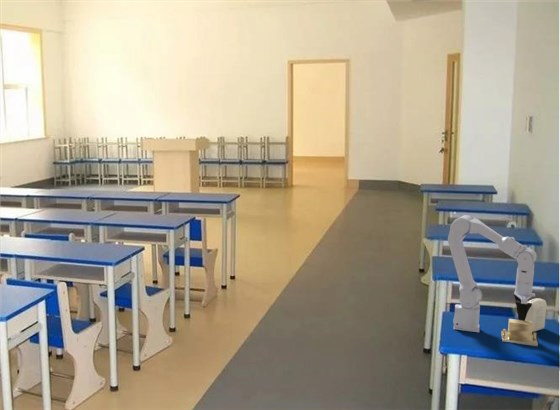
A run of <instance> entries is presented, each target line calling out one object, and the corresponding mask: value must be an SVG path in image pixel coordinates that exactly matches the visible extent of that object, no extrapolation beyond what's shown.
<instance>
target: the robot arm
mask: <svg viewBox="0 0 560 410" xmlns="http://www.w3.org/2000/svg"><path fill="white" fill-rule="evenodd" d="M449 226H450V228H449V232H448V236H447V243H448V246H449V250H450V253H451V258H452V260H453V263H454V268H455V272H456V275H457V278H458V281H459V303H460V304H458V303H457V304H455V305H454V316H453V320H452V323H453V330H459V331H464V332H474V333H480V323H479V322H480V310H481V305H480V301H482V298H483V292H482V290H481V289H480V288H479V285H478V284H477V282H476V281H475V279H474V277H473V274H472V270H471V266H470V263H469V260H468V256H467V252H466V250H465V246H464V242H463V240H464V239H465V238H466V236H467V234H479V235H481V236H483V237H484V238H487V239H488V240H490V241H492V242H493V243H495V244H497V245H498V248H499V250H500V251H501V252H504V254H506V255H508V256H510V257H511V258H512V259H514V260H516V262H517V268H516V277H515V288H514V289H515V290H514V292H513V296H514V299H515V301H514V302H515V307H516V313H517V320H522V321H525V319H526V316H527V313H528V311H529V309H530V307H531V306H532V303H527V302H528V301H529V299H531V298H532V297H535V298H536V293H533V285H534V284H533V283H534V277H535V274H534V273H535V261H536V260H537V256H538V254H537V252H536V251H535V250H534V249H533V248H532V247H527V245H525V244H524V245H523V244H522V243H520V242H518V241H516V238H515V237H513V236H511V237H510V236H503V235H501V234H499V233H498V232H496V231H495V230H494V229H493V228H491V227H489V226H488V225H487V224H485V223H483V221H482V220H480V219H478V218H476V217H474V216H473V215H471V214H464V215H461V216H460V217H458V218H455V219H454V220H453V222H452V223H451V224H450V225H449Z"/></svg>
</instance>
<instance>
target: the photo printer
mask: <svg viewBox="0 0 560 410" xmlns="http://www.w3.org/2000/svg"><path fill="white" fill-rule="evenodd" d="M527 303H532V306H531V307H530V309H529V311H528V313H527V316H526V319H525V321H531V322H532V324H533V329H532V333H535V332H537V331H539V330H544V329H545V326H546V315H547V306H548V305H547V304H548V303H547V302H546V300H545V299H544V298H543V299H542V298H540V297H539V298H537V297H535V298H533V299H530V300H528V302H527Z"/></svg>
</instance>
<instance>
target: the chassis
mask: <svg viewBox="0 0 560 410" xmlns="http://www.w3.org/2000/svg"><path fill="white" fill-rule="evenodd" d="M511 334H512V333H510V332H509V334H508V330H507V329H506V328H503V329H502V330H501V331H500V335H501V340H502V341H501V342H505V343H511V344H518V345H525V346H526V345H527V346H533V347H538V345H539V343H538V340H537V332H532V339H531V341H529V340H522V339H514V338H511Z"/></svg>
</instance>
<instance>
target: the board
mask: <svg viewBox="0 0 560 410" xmlns="http://www.w3.org/2000/svg"><path fill="white" fill-rule="evenodd" d="M507 325H508V328H507V332H508V334H509V332H510V333H512V334H511V338H514V339H522V340H529V341H531V339H532V335H533V332H532V329H533V324H532V322H531V321H522V320H519V319H513V318H508V324H507Z"/></svg>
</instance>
